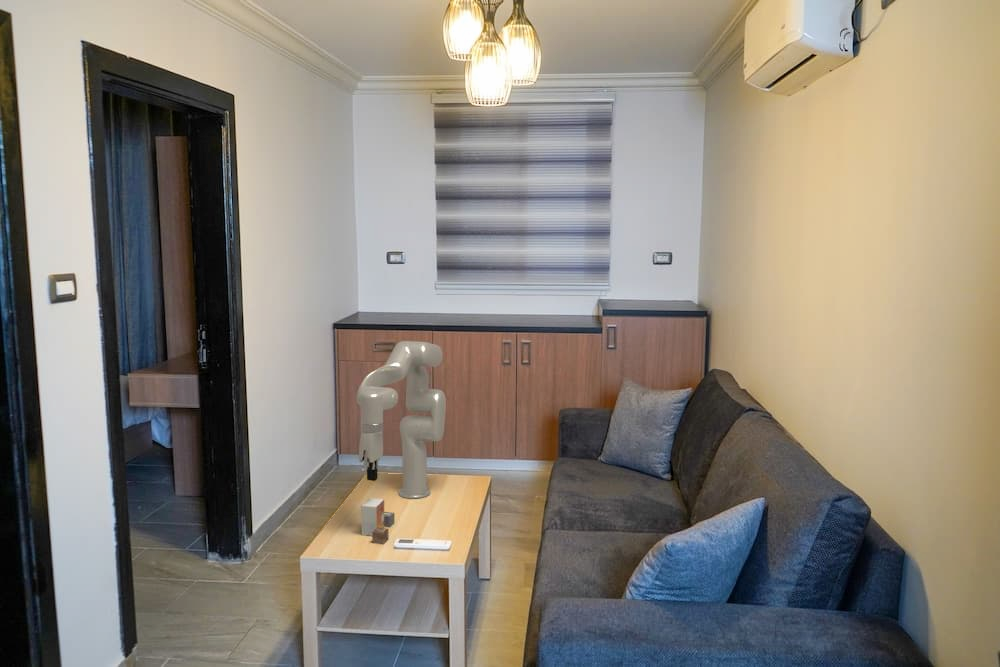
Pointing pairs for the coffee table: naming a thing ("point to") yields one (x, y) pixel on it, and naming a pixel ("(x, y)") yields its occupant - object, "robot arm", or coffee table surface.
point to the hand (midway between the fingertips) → (372, 479)
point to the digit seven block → (380, 535)
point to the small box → (372, 515)
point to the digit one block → (388, 519)
